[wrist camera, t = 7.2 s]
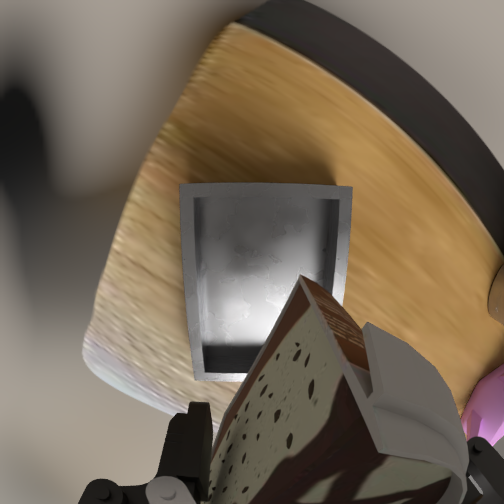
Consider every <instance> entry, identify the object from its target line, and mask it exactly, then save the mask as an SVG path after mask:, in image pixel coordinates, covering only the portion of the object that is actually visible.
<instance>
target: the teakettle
mask: <svg viewBox="0 0 504 504" xmlns="http://www.w3.org/2000/svg"><path fill="white" fill-rule="evenodd" d="M461 423H462V427H463V430H464V432H465V433H466V434H467V441H468V440H469V439H470V438H472V437H476V436H478V437H483V438H485V439H486V440H487V441H488V442H489V443H490V444H491V445H492V446H493V445H494V444H495V443H496V442H497V441H498V440H499V439H500V438H501V437H502V436H504V363H503V364H502V365H501V366H499V367H498V368H496V369H495V370H494V371H492V372H491V373H489V374H488V375H487V376H485V377H484V378H483V379H481V380H480V381H479V382H478V383H477V385H476V387H475V389H474V391H473V393H472V395H471V397H470V399H469V401H468V403H467V405H466V407H465V410H464V412H463V415H462V417H461Z"/></svg>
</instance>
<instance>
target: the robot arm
mask: <svg viewBox="0 0 504 504" xmlns="http://www.w3.org/2000/svg"><path fill="white" fill-rule="evenodd" d="M488 310H489V314H490V316H491V317H492V318H494V319H495V320H497V321H498V322H500V323H501V324H502V325H504V265H503V266H502V267H501V269H500V270H499V272H498V274H497V276H496V278H495V280H494V282H493V285H492V288H491V291H490V295H489V302H488ZM212 441H213V425H212V418H211V411H210V405H209V402H190V403H189V408H188V413H187V414H185V413H177V414H176V415H175V416H174V417H173V418H172V419H171V421H170V422H169V426H168V431H167V434H166V438H165V443H164V447H163V451H162V455H161V459H160V463H159V468H158V472H157V474H156V476H155V477H154V479H153V480H151V481H150V482H148V483H146V484H143V485H136V486H118V485H117V484H116V483H114V482H113V481H110V480H108V479H96V480H93V481H92V482H90V483H89V484H88V485H87V487H86V489H85V491H84V492H83V494H82V496H81V498H80V500H79V502H78V504H201V502H208V493H209V479H210V466H211V453H212ZM467 446H468V454H469V464H468V467H467V471H466V475H465V476H466V482H467V492H466V494H465V497H464V499H463V502H462V503H461V504H504V459H503V458H502V457H501V456H500V455H499V453H498V452H497V451H496V450H495V449H494V448H493V447H492V445H491V444H490V443H489V442H488V441H487V440H486V439H485V438H483V437H478V436H476V437H472V438H470V439H469V440H468V441H467ZM470 475H471V476H472V477H473V479H474V480H475V481H476V483H477V484H478V485H479V487H480V488H481V489H482V491H483V495H482V494H480V493H479V491H478V490H477V488H476V487H475V486H474V484H473V483H472V482H471V480H470V479H469V478H468V477H469V476H470Z"/></svg>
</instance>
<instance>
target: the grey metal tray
mask: <svg viewBox="0 0 504 504" xmlns="http://www.w3.org/2000/svg"><path fill="white" fill-rule="evenodd" d="M352 190H353V187H349V186H334V185H317V184H294V183H189V184H180V225H181V247H182V264H183V278H184V291H185V302H186V313H187V323H188V332H189V341H190V349H191V357H192V364H193V371H194V378H195V380H199V381H244V379H245V377H246V375H247V374H248V372H249V370H250V368H251V367H252V365H253V363H254V361H255V360H256V358H257V356H258V354H259V352H260V350H261V349H262V347H263V345H264V343H265V341H266V339H267V338H268V336H269V334H270V332H271V330H272V328H273V326H274V325H275V323H276V321H277V319H278V317H279V315H280V313H281V311H282V309H283V307H284V305H285V303H286V301H287V299H288V298H289V296H290V294H291V292H292V290H293V288H294V286H295V284H296V282H297V280H298V278H299V276H300V274H301V275H303V276H305V277H307V278H309V279H311V280H312V281H314V282H316V283H318V284H319V285H320V286H321V287H323V288H324V289H325V290H327V291H328V292H329V293H330V294H331V295H332V296H333V297H334V298H335V299H336V300H337V301H338V302H339V303H340V305H341V306H342V304H343V297H344V289H345V281H346V272H347V263H348V253H349V241H350V228H351V212H352Z"/></svg>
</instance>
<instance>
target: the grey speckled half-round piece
mask: <svg viewBox="0 0 504 504" xmlns="http://www.w3.org/2000/svg"><path fill="white" fill-rule="evenodd" d="M468 464H469V454H468V446H467V441H466V437H465V434H464V430H463V427H462V423H461V420H460V417H459V414H458V410H457V407H456V404H455V401H454V399H453V396H452V393H451V390H450V389H449V387H448V386H447V384H446V383H445V381H444V380H443V378H442V377H441V375H440V374H439V372H438V371H437V369H436V368H435V366H433V365H432V364H431V363H430V362H429V361H428V360H426V359H425V358H424V357H423V356H422V355H421V354H419V353H418V352H417V351H416V350H415V349H413V348H412V347H411V346H410V345H409V344H408V343H406V342H404V341H402V340H401V339H399V338H397V337H395V336H393V335H391V334H389V333H387V332H386V331H384V330H382V329H380V328H378V327H376V326H374V325H373V324H371V323H369V322H367V323H366V324H365V326H364V327H363V328H362V330H361V329H360V327H359V326H358V325H357V324H356V322H355V321H354V320H353V319H352V318H351V316H350V315H349V314H348V313H347V312H346V310H345V309H344V308H343V307H342V306H341V305H340V303H339V302H338V301H337V300H336V299H335V298H334V297H333V296H332V295H331V294H330V293H329V292H328V291H327V290H325V289H324V288H323V287H321V286H320V285H319V284H318V283H316V282H314V281H312V280H311V279H309V278H307V277H305V276H303V275H301V274H300V276H299V278H298V280H297V282H296V284H295V286H294V288H293V290H292V292H291V294H290V296H289V298H288V299H287V301H286V303H285V305H284V307H283V309H282V311H281V313H280V315H279V317H278V319H277V321H276V323H275V325H274V326H273V328H272V330H271V332H270V334H269V336H268V338H267V339H266V341H265V343H264V345H263V347H262V349H261V350H260V352H259V354H258V356H257V358H256V360H255V361H254V363H253V365H252V367H251V368H250V370H249V372H248V374H247V375H246V377H245V379H244V381H243V382H242V384H241V386H240V388H239V389H238V391H237V393H236V394H235V396H234V398H233V400H232V401H231V403H230V405H229V406H228V408H227V410H226V411H225V413H224V416H223V419H222V422H221V424H220V427H219V430H218V433H217V436H216V439H215V442H214V445H213V447H212V453H211V466H210V479H209V493H208V502H201V504H461V503H462V502H463V499H464V497H465V494H466V492H467V482H466V476H465V475H466V471H467V467H468Z"/></svg>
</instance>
